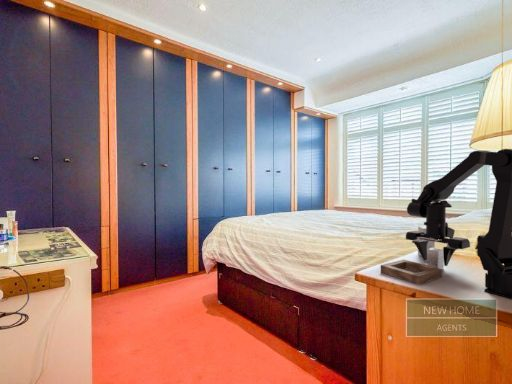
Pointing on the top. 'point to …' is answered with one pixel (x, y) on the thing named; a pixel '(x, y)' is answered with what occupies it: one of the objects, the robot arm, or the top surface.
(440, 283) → the top surface
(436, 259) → the steel square peg
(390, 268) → the square wooden frame
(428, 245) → the skincare box
